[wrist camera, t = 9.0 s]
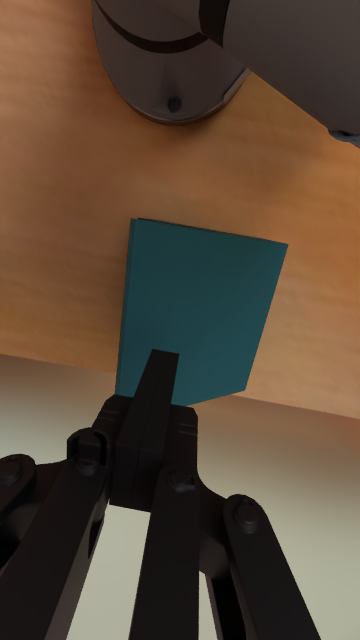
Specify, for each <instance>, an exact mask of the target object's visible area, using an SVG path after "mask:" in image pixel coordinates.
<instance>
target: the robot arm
mask: <svg viewBox="0 0 360 640" xmlns="http://www.w3.org/2000/svg"><path fill="white" fill-rule="evenodd" d="M91 6H92V21H93V29H94V34H95V39H96V43H97V47H98V51H99V54H100V57H101V60H102V62H103V65H104V67H105V70H106V72H107V73H108V75H109V77H110V79H111V81H112V82H113V84H114V86H115V87H116V89H117V90H118V92H119V93H120V95H121V96H122V97H123V99H124V100H125V101H126V102H127V103H128V104H129V105H130V106H131V107H132V108H133V109H134V110H135V111H136V112H138V113H139V114H141V115H142V116H144V117H145V118H147V119H149V120H151V121H154V122H156V123H159V124H163V125H168V126H185V125H190V124H194V123H197V122H200V121H202V120H205V119H206V118H208V117H210V116H212V115H213V114H215V113H216V112H218V111H219V110H220V109H221V108H222V107H223V106H225V105H226V104H227V103H228V102H229V100H230V99H231V98H232V97H233V96H234V95H235V93H236V92H237V90H238V89H239V87H240V86H241V84H242V83H243V81H244V79H245V78H246V77H247V76H248V74H249V72H250V70H251V71H252V72H254V73H255V74H256V75H258V76H259V77H260V78H262V79H263V80H264V81H266V82H267V83H268V84H270V85H271V86H272V87H274V88H275V89H276V90H278V91H279V92H280V93H282V94H283V95H284V96H286V97H287V98H288V99H289V100H291V101H292V102H293V103H295V104H296V105H297V106H299V107H300V108H301V109H303V110H304V111H305V112H307V113H308V114H309V115H311V116H312V117H313V118H315V119H316V120H317V121H319V122H320V123H321V124H323V125H324V126H325V127H327V128H328V131H329V134H330V135H331V136H333V137H334V138H335V139H337V140H340V141H343V142H350V143H352V144H353V145H355V146H356V147H358V148H360V0H91ZM178 360H179V353H173V352H168V351H162V350H157V349H152V351H151V353H150V356H149V358H148V361H147V363H146V366H145V369H144V371H143V374H142V376H141V379H140V381H139V384H138V386H137V389H136V392H135V394H134V397H127V396H122V395H116V394H114V395H113V396H111V397H110V398H109V399H107V400H106V401H105V403H104V405H103V407H102V409H101V411H100V412H99V414H98V416H97V419H96V420H95V421H94V423H93V425H92V427H90V428H89V427H88V428H84V429H80V430H78V431H76V432H75V433H73V434H72V435H71V436H70V437H69V438H68V439H67V459H65V460H63V461H60V462H55V463H48V464H39V465H36V464H35V461H34V460H33V459H32V458H31V457H30V456H29V455H24V454H14V455H9V456H6V457H4V458H1V459H0V640H66V638H67V635H68V632H69V628H70V626H71V622H72V619H73V616H74V613H75V610H76V607H77V604H78V601H79V598H80V595H81V591H82V588H83V585H84V582H85V579H86V576H87V573H88V570H89V567H90V564H91V560H92V557H93V554H94V551H95V548H96V545H97V542H98V539H99V536H100V533H101V530H102V527H103V523H104V516H105V510H106V507H107V504H108V501H109V505H114V506H119V507H124V508H130V509H135V510H140V511H145V512H150V513H151V514H150V520H149V526H148V531H147V537H146V542H145V548H144V554H143V560H142V565H141V570H140V576H139V582H138V588H137V594H136V599H135V605H134V610H133V616H132V622H131V627H130V633H129V638H128V640H198V635H199V633H198V632H199V631H198V630H199V623H198V622H199V571H201V572H202V573H204V574H205V577H206V583H207V588H208V593H209V598H210V603H211V608H212V614H213V618H214V623H215V629H216V634H217V639H218V640H321V638H320V636H319V634H318V632H317V629H316V627H315V625H314V622H313V620H312V618H311V616H310V613H309V611H308V609H307V606H306V604H305V602H304V599H303V597H302V595H301V592H300V590H299V588H298V586H297V583H296V581H295V579H294V576H293V574H292V572H291V570H290V567H289V565H288V563H287V561H286V558H285V556H284V554H283V552H282V549H281V547H280V544H279V542H278V540H277V537H276V535H275V533H274V531H273V529H272V526H271V524H270V521H269V519H268V517H267V515H266V513H265V512H264V510H263V508H262V507H261V506H260V505H259V504H258V503H257V502H256V501H255V500H254V499H252V498H250V497H248V496H246V495H241V494H235V495H232V496H229V497H228V498H227V499H225V498H223V497H222V496H220V495H218V494H216V493H214V492H213V491H211V490H210V489H208V488H207V487H206V486H205V485H204V484H203V482H202V481H201V479H200V477H199V475H198V471H197V434H198V428H197V427H198V416H197V414H196V413H195V410H194V408H191V407H186V406H180V405H175V404H171V402H172V396H173V390H174V384H175V378H176V372H177V366H178ZM109 498H110V499H109Z"/></svg>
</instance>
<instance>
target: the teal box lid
mask: <svg viewBox="0 0 360 640" xmlns="http://www.w3.org/2000/svg"><path fill="white" fill-rule="evenodd" d="M287 248H288V244H285V243H279V242H273V241H267V240H261V239H255V238H249V237H243V236H236V235H230V234H224V233H218V232H212V231H206V230H200V229H194V228H188V227H182V226H176V225H170V224H164V223H158V222H151V221H145V220H139V219H133V218H131V221H130V232H129V243H128V254H127V265H126V276H125V287H124V298H123V309H122V320H121V331H120V342H119V353H118V363H117V374H116V385H115V394H116V395H122V396H127V397H134V394H135V392H136V389H137V386H138V384H139V381H140V379H141V376H142V374H143V371H144V369H145V366H146V363H147V361H148V358H149V356H150V353H151V351H152V349H157V350H162V351H168V352H173V353H179V360H178V366H177V372H176V378H175V384H174V390H173V396H172V402H171V404H175V405H180V406H188V405H192V404H195V403H199V402H203V401H206V400H210V399H214V398H218V397H221V396H225V395H229V394H233V393H237V392H241V391H244V390H245V389H246V385H247V382H248V378H249V375H250V372H251V368H252V365H253V362H254V358H255V355H256V352H257V348H258V345H259V342H260V338H261V335H262V332H263V328H264V325H265V322H266V318H267V315H268V312H269V308H270V305H271V301H272V298H273V295H274V291H275V288H276V285H277V281H278V278H279V275H280V271H281V268H282V265H283V261H284V258H285V255H286V251H287Z"/></svg>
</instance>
